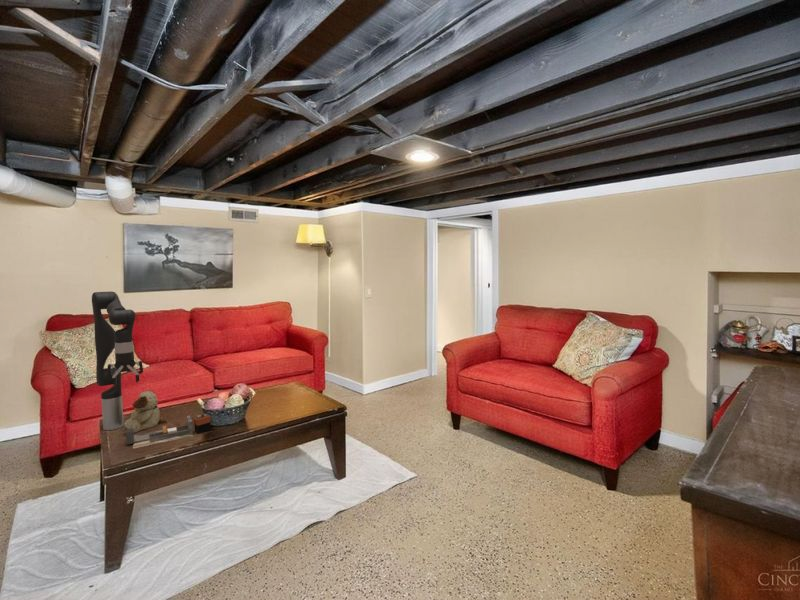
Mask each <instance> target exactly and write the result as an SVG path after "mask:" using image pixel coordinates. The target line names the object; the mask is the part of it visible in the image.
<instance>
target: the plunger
mask: <svg viewBox="0 0 800 600" xmlns="http://www.w3.org/2000/svg"><path fill="white" fill-rule="evenodd" d="M167 429H168V428H167V425H162V429H159V430H160V431H158V430H153V431H154V432H153V431H149V432H144V433H140V434H136V435H135V433H134V429H133V428H130V429H125V437H126V439H125V440H126V445H131V444H132V445H133V443H134V441H137V440H142V439H147V438H150V437H154V436H159V435H164V434H167Z"/></svg>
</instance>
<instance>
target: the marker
mask: <svg viewBox="0 0 800 600" xmlns="http://www.w3.org/2000/svg"><path fill="white" fill-rule="evenodd" d="M174 427H175V428H174ZM174 427H169V428H170V429H169V428H167V434H169V433H174V432H177V429H176V427H177V426H174Z"/></svg>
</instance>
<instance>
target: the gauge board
mask: <svg viewBox="0 0 800 600" xmlns="http://www.w3.org/2000/svg"><path fill="white" fill-rule="evenodd" d="M175 427H176V429H177V432H174V433H169V434H164V435H159V436H154V437H150V438H147V439H142V440H137V441H134V443H132V449H137V448H141V447H142V448H143V447H147V446H150V445H156V444H161V443H166V442H171V441H175V440H180V439H184V438H189V437H194V432H193V431H194V429H193V419H192V417H191V415H187V416H186V424H185V425H179V426H174V427H173V428H175ZM170 428H171V427H169V428H168V429H170ZM160 430H161V429H158V430H157V431H160ZM154 431H155V430H153V431H152V432H154Z"/></svg>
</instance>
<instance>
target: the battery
mask: <svg viewBox="0 0 800 600" xmlns="http://www.w3.org/2000/svg"><path fill="white" fill-rule="evenodd" d="M193 419H194V423H193V424H194V433H196V435H199V434H200V435H201V434H203V433H206V432H210V431H211V430H212V429H211V424H212V423H211V415H209V414H207V413H204V414H202V415H201V414H197V415H196V416H195V417H193Z"/></svg>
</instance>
